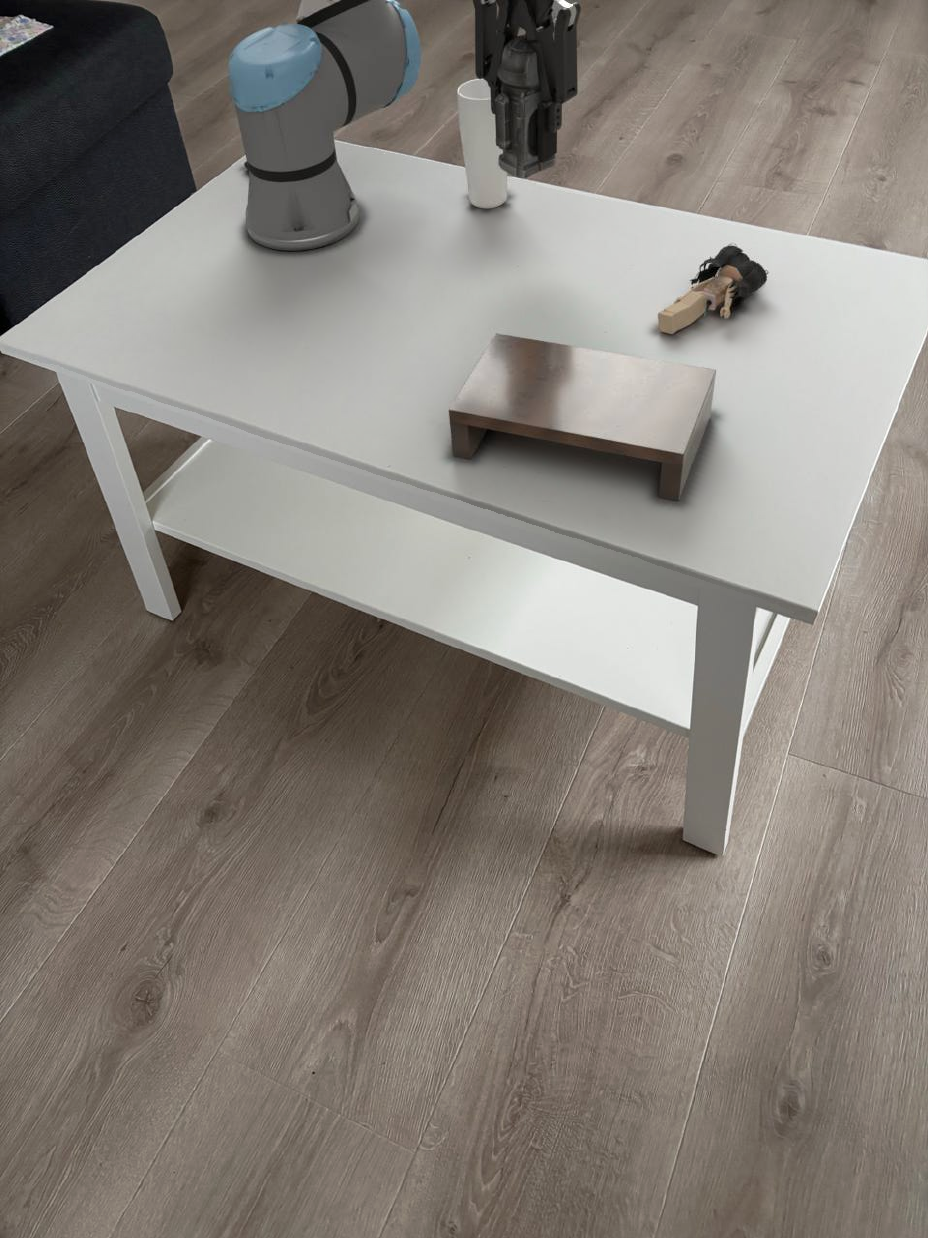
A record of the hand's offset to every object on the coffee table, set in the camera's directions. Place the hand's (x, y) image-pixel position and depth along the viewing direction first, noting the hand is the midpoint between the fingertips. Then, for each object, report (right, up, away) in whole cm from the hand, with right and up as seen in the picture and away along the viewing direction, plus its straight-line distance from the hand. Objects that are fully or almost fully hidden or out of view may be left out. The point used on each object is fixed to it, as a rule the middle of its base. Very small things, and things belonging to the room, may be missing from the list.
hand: (526, 148), depth 130 cm
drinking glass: (-4, +1, +19) cm, 20 cm away
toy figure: (+22, -20, -1) cm, 30 cm away
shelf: (+5, -37, -16) cm, 41 cm away
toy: (0, -1, +2) cm, 2 cm away
